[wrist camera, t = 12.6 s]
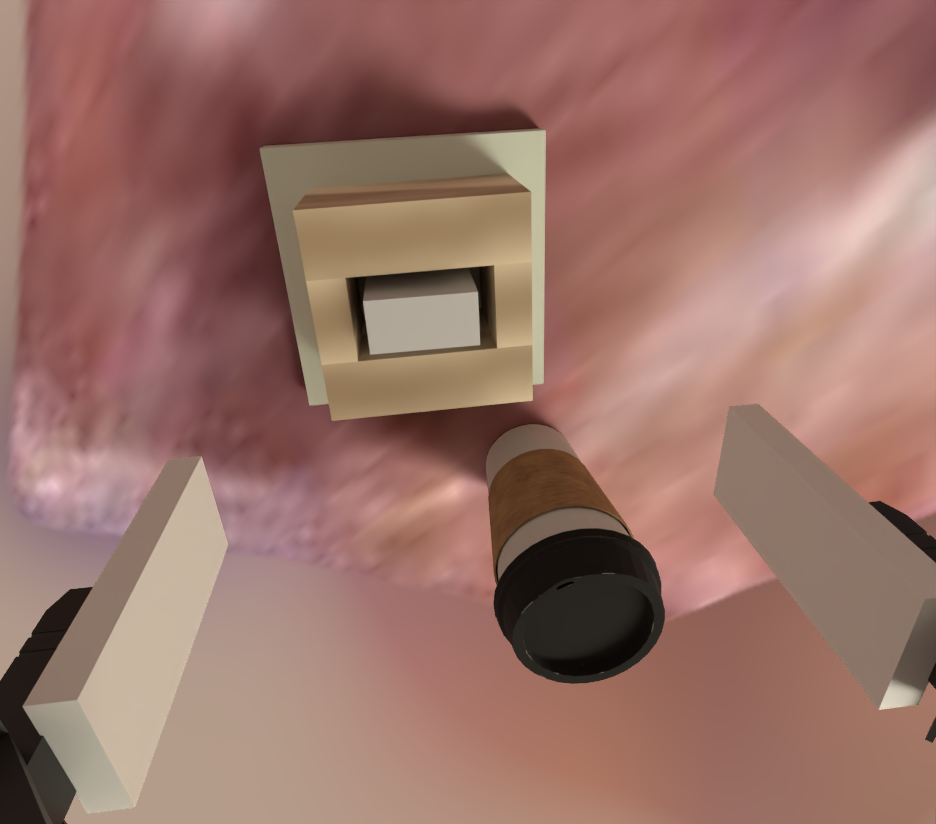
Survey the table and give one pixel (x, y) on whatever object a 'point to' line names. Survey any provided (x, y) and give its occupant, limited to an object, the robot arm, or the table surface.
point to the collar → (413, 250)
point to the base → (398, 168)
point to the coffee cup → (566, 563)
